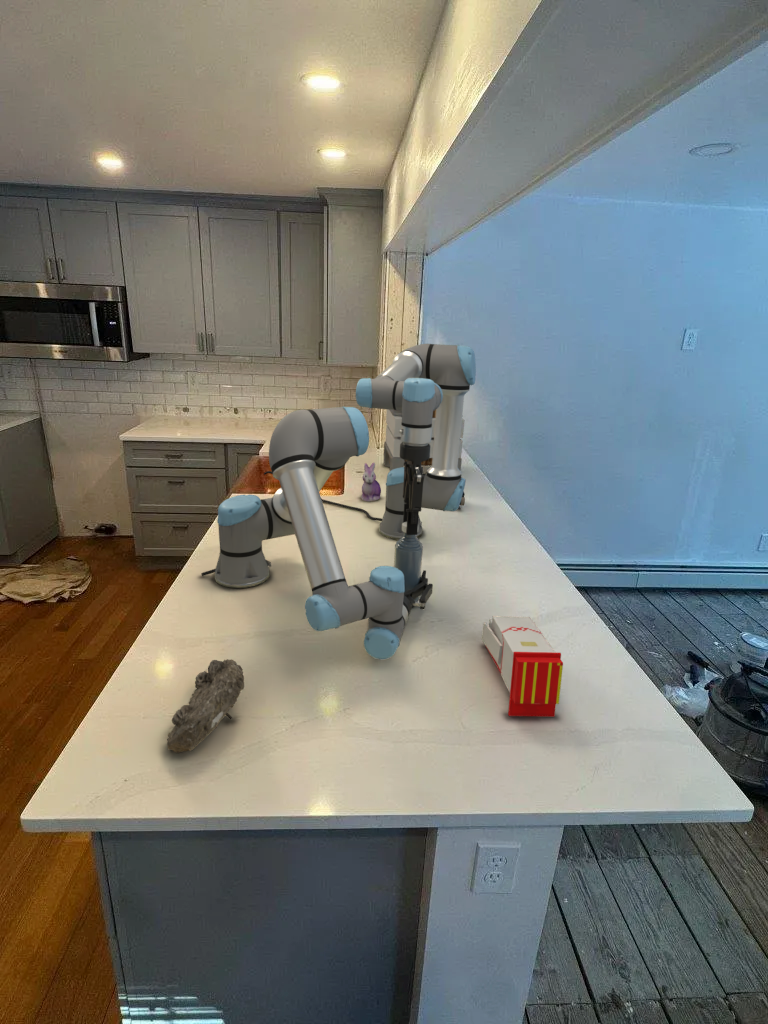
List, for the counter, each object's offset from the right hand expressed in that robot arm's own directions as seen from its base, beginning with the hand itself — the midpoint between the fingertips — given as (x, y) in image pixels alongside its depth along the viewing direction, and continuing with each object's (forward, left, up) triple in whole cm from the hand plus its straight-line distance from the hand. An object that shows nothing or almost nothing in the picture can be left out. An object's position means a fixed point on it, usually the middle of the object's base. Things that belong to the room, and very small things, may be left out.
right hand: (409, 530), depth 148 cm
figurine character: (-47, +70, -20) cm, 87 cm away
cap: (0, 0, +1) cm, 1 cm away
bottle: (0, 0, -20) cm, 20 cm away
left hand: (-3, +4, -14) cm, 15 cm away
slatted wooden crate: (-89, +92, -20) cm, 130 cm away
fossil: (+12, -61, -20) cm, 66 cm away
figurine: (-73, +47, -20) cm, 89 cm away
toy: (+39, -4, -20) cm, 44 cm away
